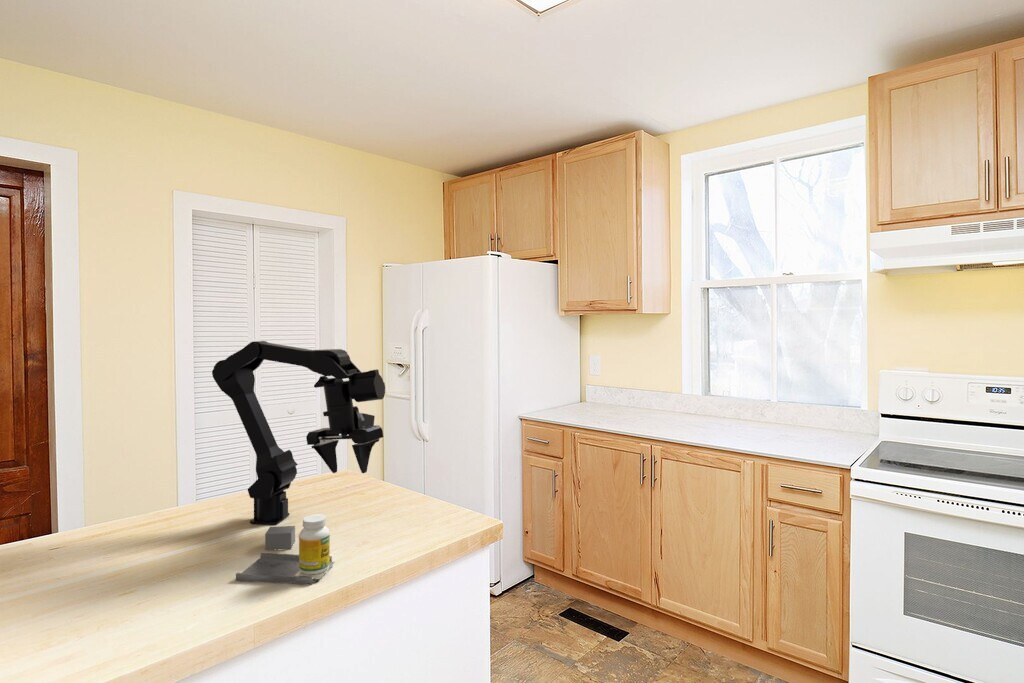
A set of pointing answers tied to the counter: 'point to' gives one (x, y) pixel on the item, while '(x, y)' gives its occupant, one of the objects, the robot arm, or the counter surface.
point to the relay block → (280, 537)
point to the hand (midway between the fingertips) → (349, 472)
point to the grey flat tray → (279, 570)
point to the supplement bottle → (314, 545)
